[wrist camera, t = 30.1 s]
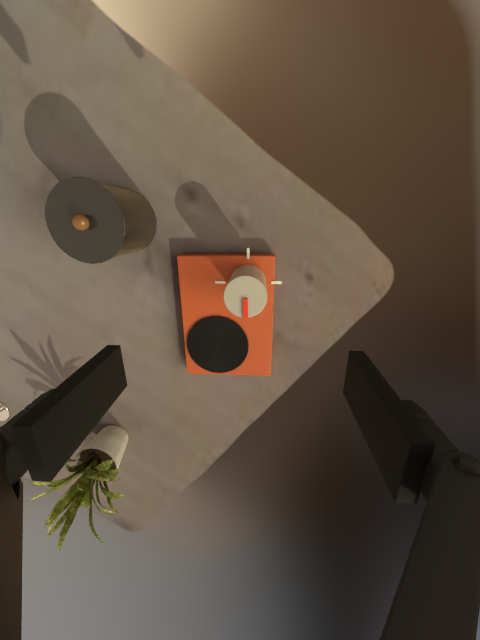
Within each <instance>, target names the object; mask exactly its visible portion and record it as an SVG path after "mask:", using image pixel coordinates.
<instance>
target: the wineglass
mask: <svg viewBox="0 0 480 640" xmlns="http://www.w3.org/2000/svg"><path fill="white" fill-rule="evenodd" d="M9 416H10V413H9V410H8V409H7V407H6V406H5V405H3V404H2V403H0V421H5V420H7V419H8V418H9Z"/></svg>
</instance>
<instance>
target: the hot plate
mask: <svg viewBox="0 0 480 640" xmlns="http://www.w3.org/2000/svg"><path fill="white" fill-rule="evenodd" d="M177 261H178V273H179V284H180V295H181V307H182V318H183V330H184V341H185V353H186V364H187V373H199V374H233V375H266V376H271V356H272V328H273V300H274V284H282V281H274V272H275V255H274V254H250V248H247V254H180V255H178V256H177ZM242 265H254V266H256V267H258V268H259V269H260V270H261V271H262V272H263V273H264V275H265V278H266V287H267V303H266V305H265V307H264V309H263V310H262V311H261V312H260V313H259V314H257V315H256V316H253V317H249V318H242V317H238V316H236V315H234V314H232V313H231V312H230V311H229V310H228V308H227V307H226V305H225V302H224V291H225V288H226V286H227V284H228V282H229V280H230V278H231V276H232V274H233V272H234V271H235V270H236V269H237V268H238V267H240V266H242ZM211 316H222V317H226V318H229V319H231V320H233V321H235V322H236V323H237V324H239V325H240V326H241V327H242V329H243V330H244V331H245V333H246V335H247V338H248V343H249V348H248V354H247V356H246V358H245V360H244V362H243V363H242V364H241V365H240V366H239V367H237V368H236V369H234V370H232V371H229V372H225V373H214V372H210V371H207V370H205V369H203V368H201V367H200V366H198V365H197V364H196V363H195V362H194V361H193V360H192V358H191V357H190V355H189V352H188V349H187V337H188V334H189V332H190V330H191V328H192V327H193V326H194V325H195V324H196V323H197V322H198V321H200V320H201V319H204V318H206V317H211Z"/></svg>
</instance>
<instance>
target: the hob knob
mask: <svg viewBox="0 0 480 640" xmlns="http://www.w3.org/2000/svg"><path fill="white" fill-rule="evenodd" d="M224 302H225V305H226V307H227V308H228V310H229V311H230V312H231V313H232V314H234V315H236V316H238V317H242V318H249V317H253V316H256V315H257V314H259V313H260V312H261V311H262V310H263V309H264V307H265V305H266V303H267V287H266V278H265V275H264V273H263V272H262V271H261V270H260V269H259V268H258V267H256V266H254V265H242V266H240V267H238V268H237V269H236V270H235V271H234V272H233V274H232V276H231V278H230V280H229V282H228V284H227V286H226V288H225V291H224Z"/></svg>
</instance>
